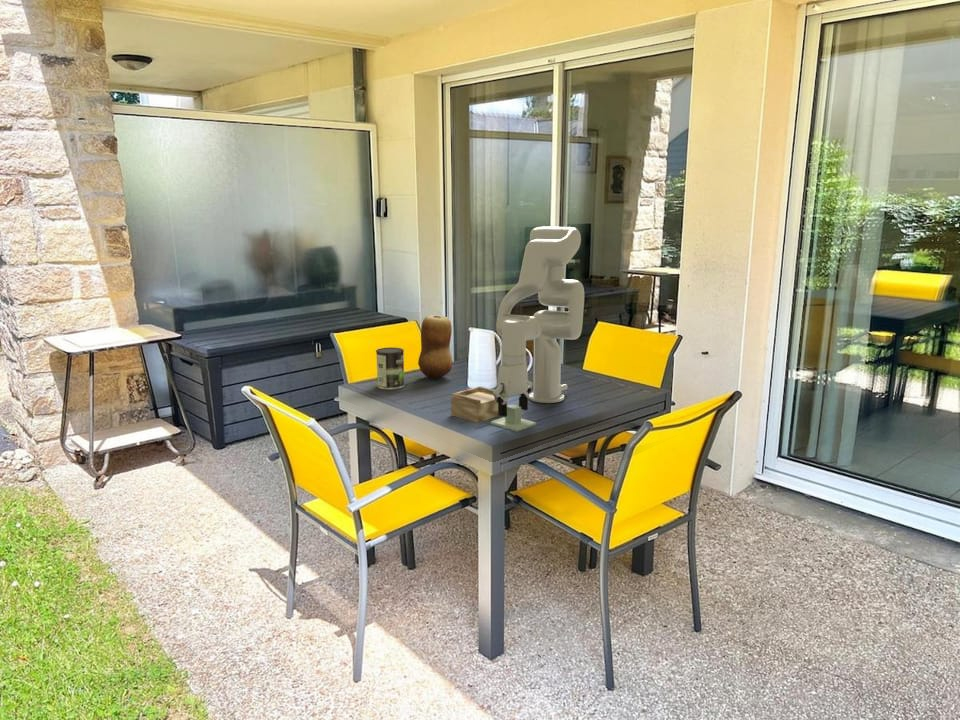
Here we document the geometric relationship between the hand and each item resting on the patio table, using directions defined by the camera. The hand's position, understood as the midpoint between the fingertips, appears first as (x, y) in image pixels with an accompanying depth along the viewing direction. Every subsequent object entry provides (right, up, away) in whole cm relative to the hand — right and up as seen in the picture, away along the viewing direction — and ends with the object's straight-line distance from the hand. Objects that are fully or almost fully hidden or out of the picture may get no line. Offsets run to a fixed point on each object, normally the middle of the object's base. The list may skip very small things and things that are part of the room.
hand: (513, 412), depth 222 cm
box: (-11, -1, +11) cm, 15 cm away
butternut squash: (-28, +9, +58) cm, 65 cm away
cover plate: (0, -4, +1) cm, 4 cm away
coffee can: (-44, +6, +46) cm, 64 cm away
